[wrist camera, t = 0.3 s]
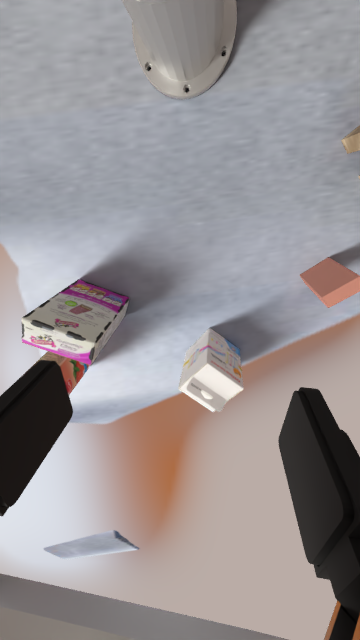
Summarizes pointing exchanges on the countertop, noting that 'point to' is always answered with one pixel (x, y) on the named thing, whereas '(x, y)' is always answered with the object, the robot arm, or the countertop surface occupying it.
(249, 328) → the countertop surface
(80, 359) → the candy bar box
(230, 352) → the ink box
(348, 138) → the domino
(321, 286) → the domino
